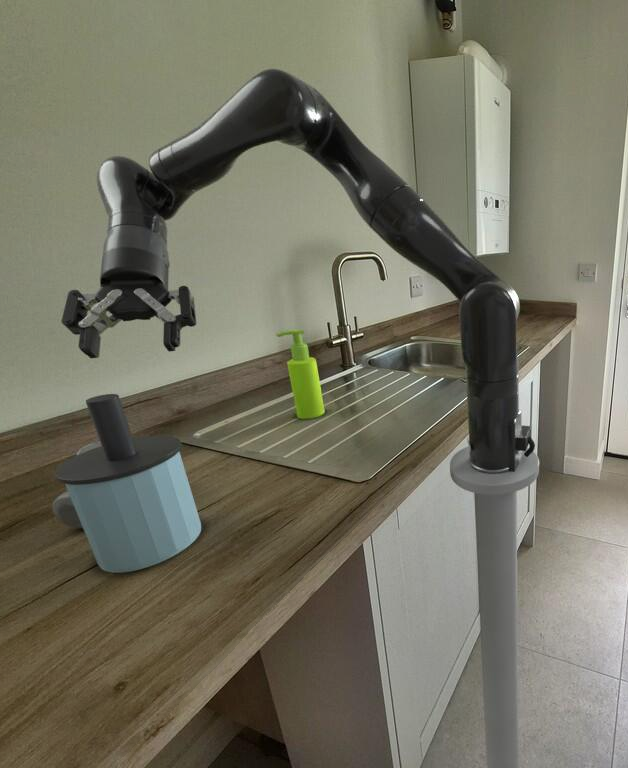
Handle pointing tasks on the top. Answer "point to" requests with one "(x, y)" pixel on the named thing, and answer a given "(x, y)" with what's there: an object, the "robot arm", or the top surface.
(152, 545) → the light blue cup
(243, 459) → the top surface
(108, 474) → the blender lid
